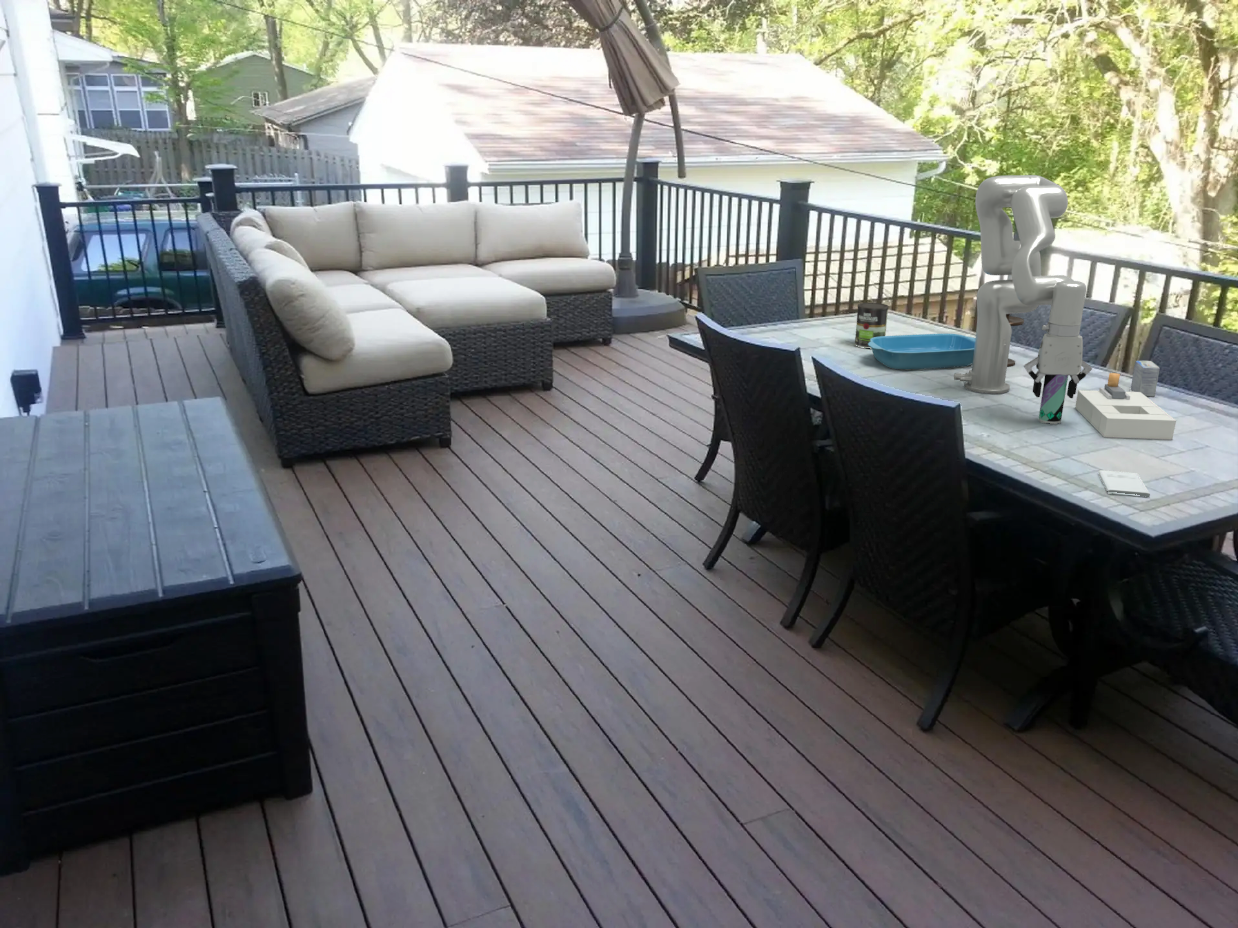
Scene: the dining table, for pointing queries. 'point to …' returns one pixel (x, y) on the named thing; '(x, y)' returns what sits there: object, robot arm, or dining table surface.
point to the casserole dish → (923, 351)
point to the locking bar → (1114, 386)
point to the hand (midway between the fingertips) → (1053, 396)
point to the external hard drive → (1123, 483)
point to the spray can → (1053, 398)
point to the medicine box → (1145, 378)
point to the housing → (1125, 415)
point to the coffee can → (870, 322)
